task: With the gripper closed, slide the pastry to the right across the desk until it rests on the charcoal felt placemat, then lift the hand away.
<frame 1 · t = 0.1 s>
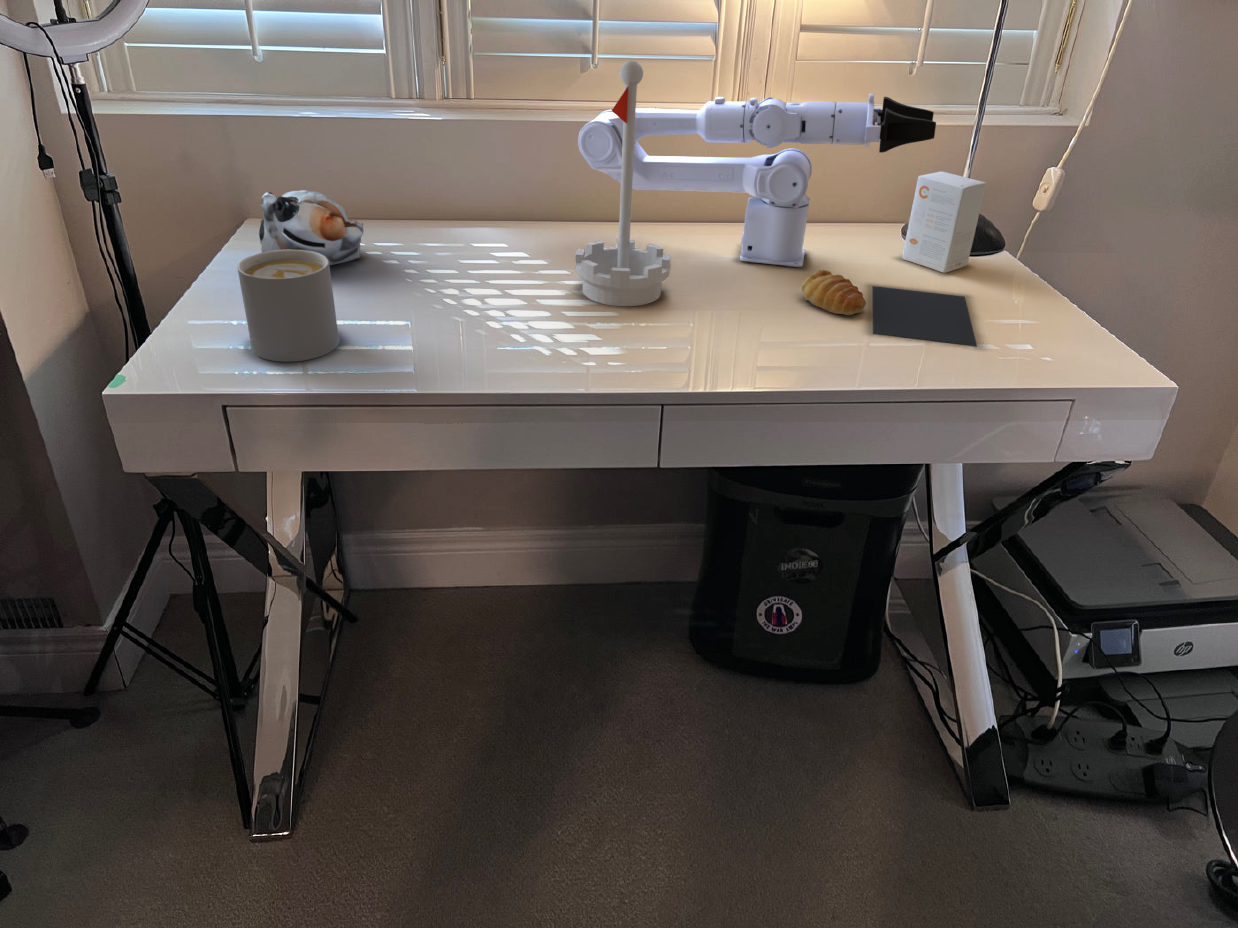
hand: (933, 124, 131), 22 cm above the table, tool horizontal, fingers open, 7 cm apart
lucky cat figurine: (319, 266, 135), on the table
small box: (933, 264, 147), on the table
placemat: (921, 314, 128), on the table
pastry: (832, 305, 130), on the table
coffee mug: (297, 339, 113), on the table
flag stand: (621, 292, 131), on the table
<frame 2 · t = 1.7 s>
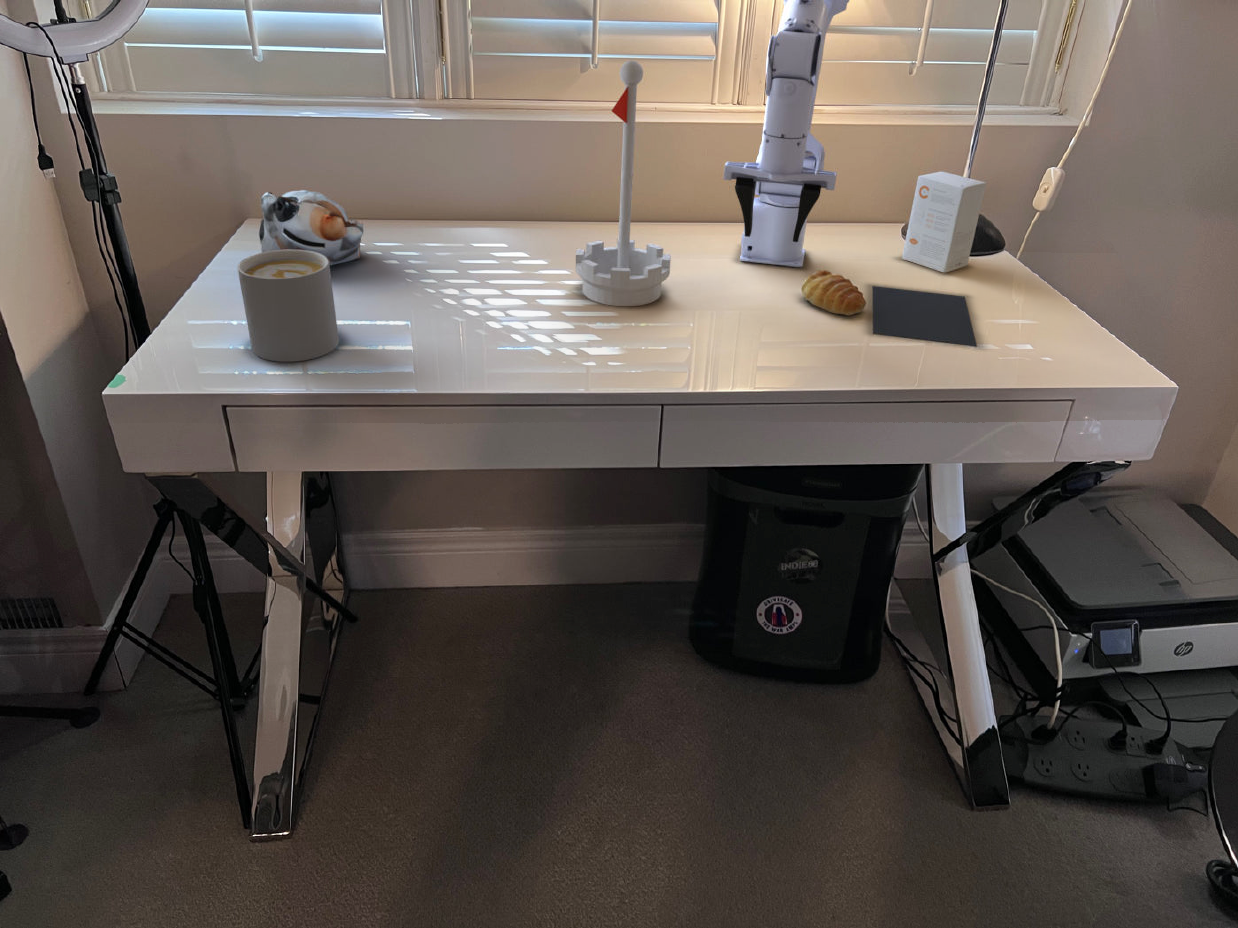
hand: (771, 237, 127), 8 cm above the table, tool pointing down, fingers open, 6 cm apart
nothing on the table moved.
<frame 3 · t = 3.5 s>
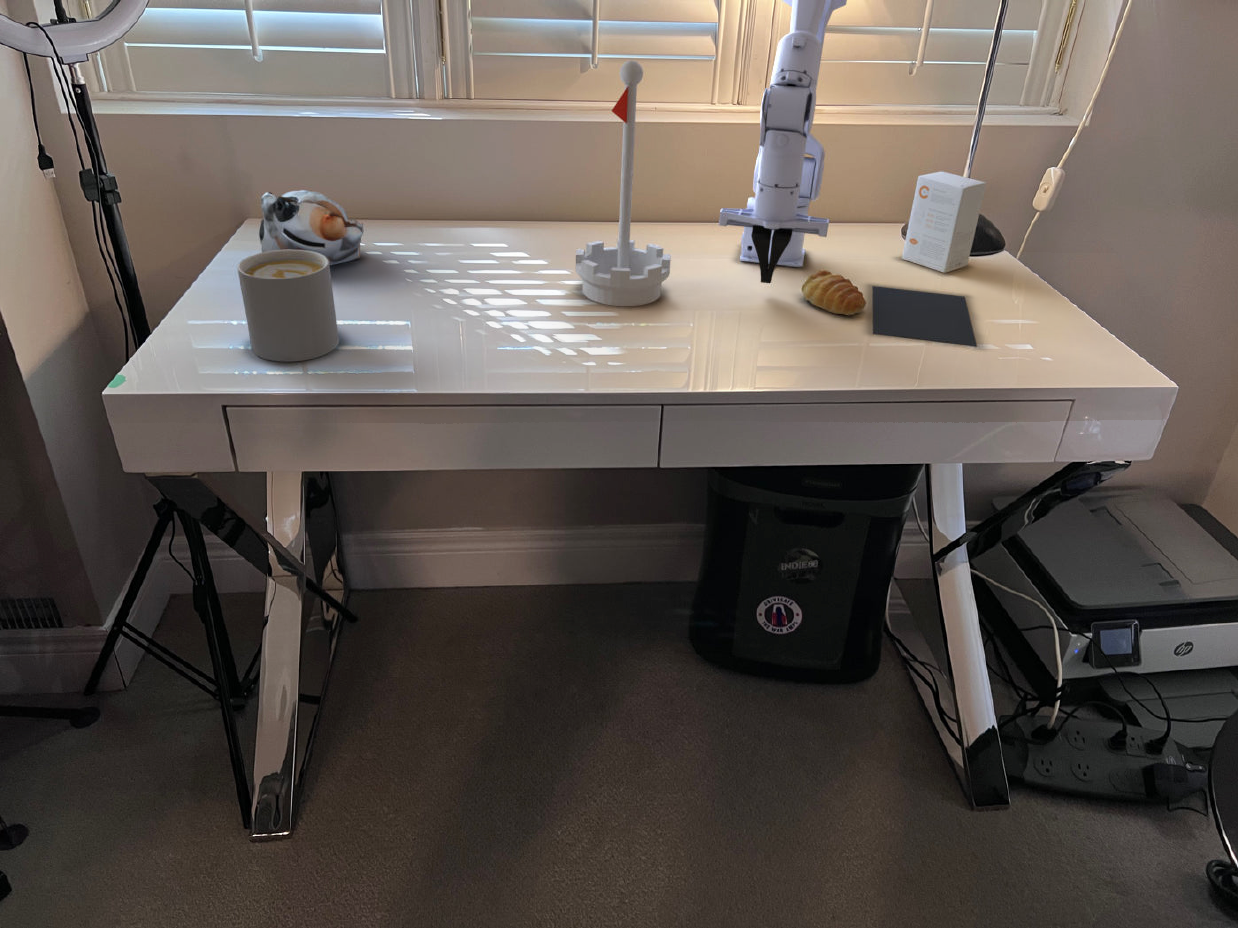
hand: (766, 280, 131), 2 cm above the table, tool pointing down, fingers closed
nothing on the table moved.
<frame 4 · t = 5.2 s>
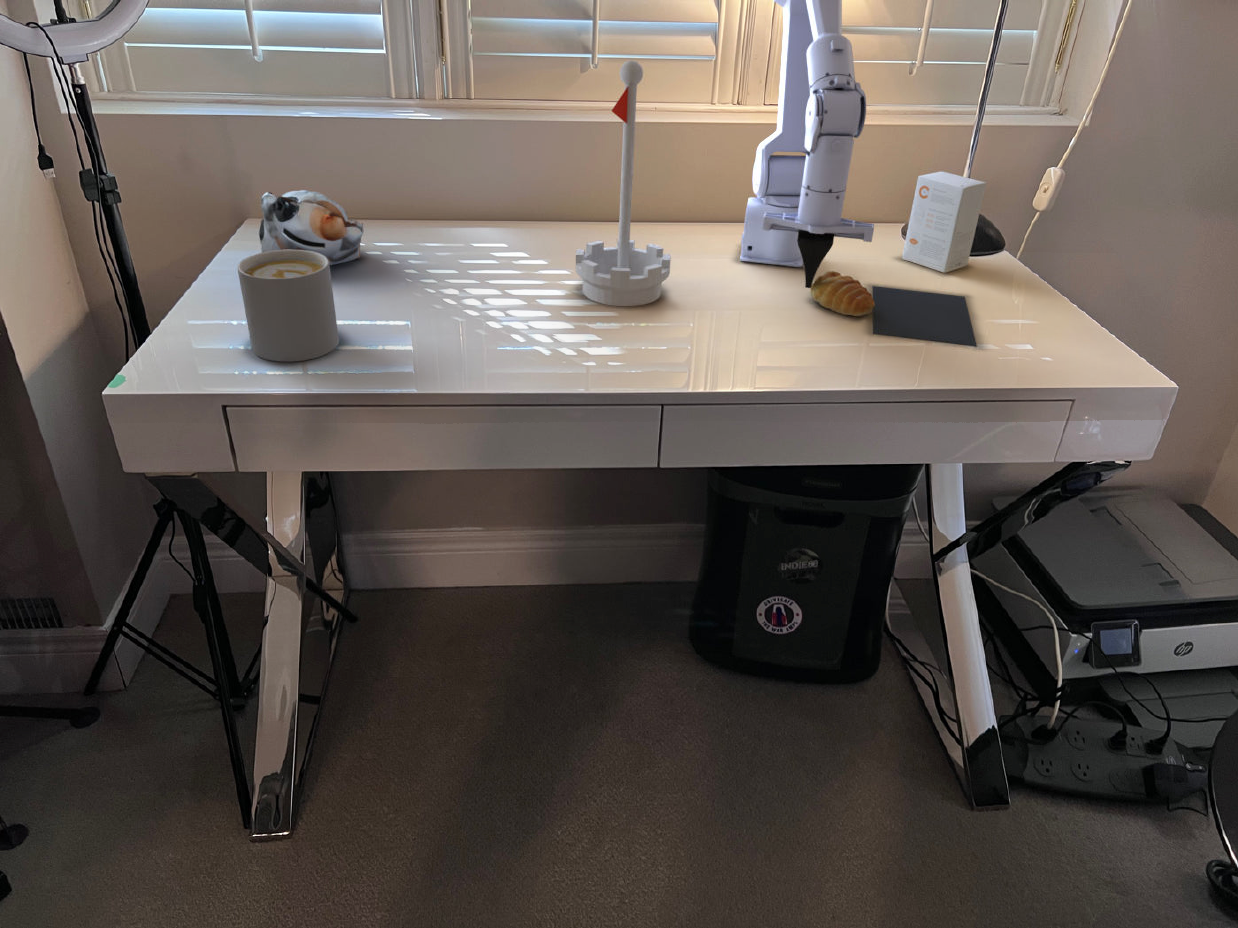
hand: (808, 285, 130), 2 cm above the table, tool pointing down, fingers closed, pressing on pastry
pastry: (841, 306, 130), on the table, touching gripper, placemat
everything else where it was.
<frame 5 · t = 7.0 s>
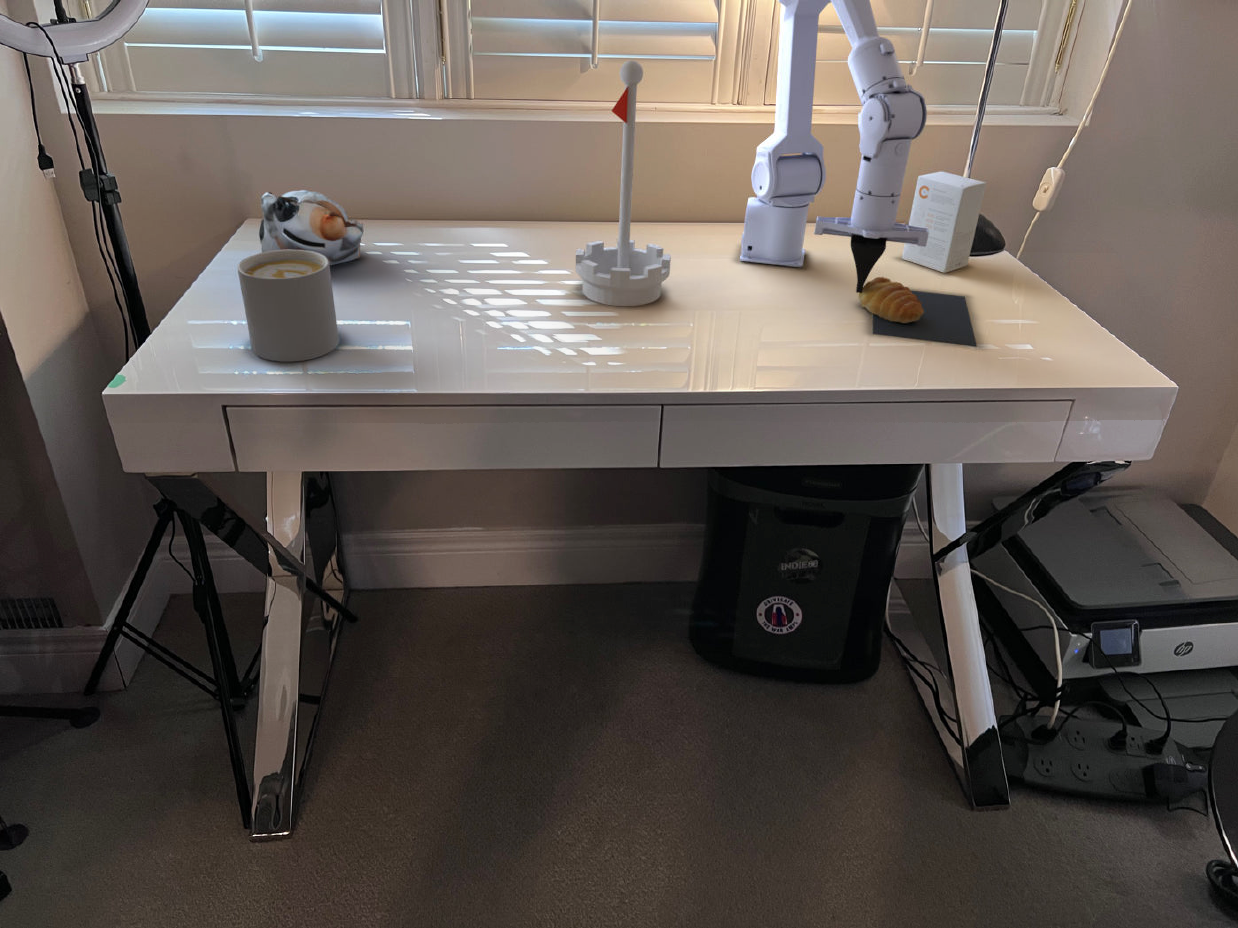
hand: (859, 290, 128), 2 cm above the table, tool pointing down, fingers closed, pressing on pastry
pastry: (889, 312, 128), on the table, touching gripper, placemat
everything else where it was.
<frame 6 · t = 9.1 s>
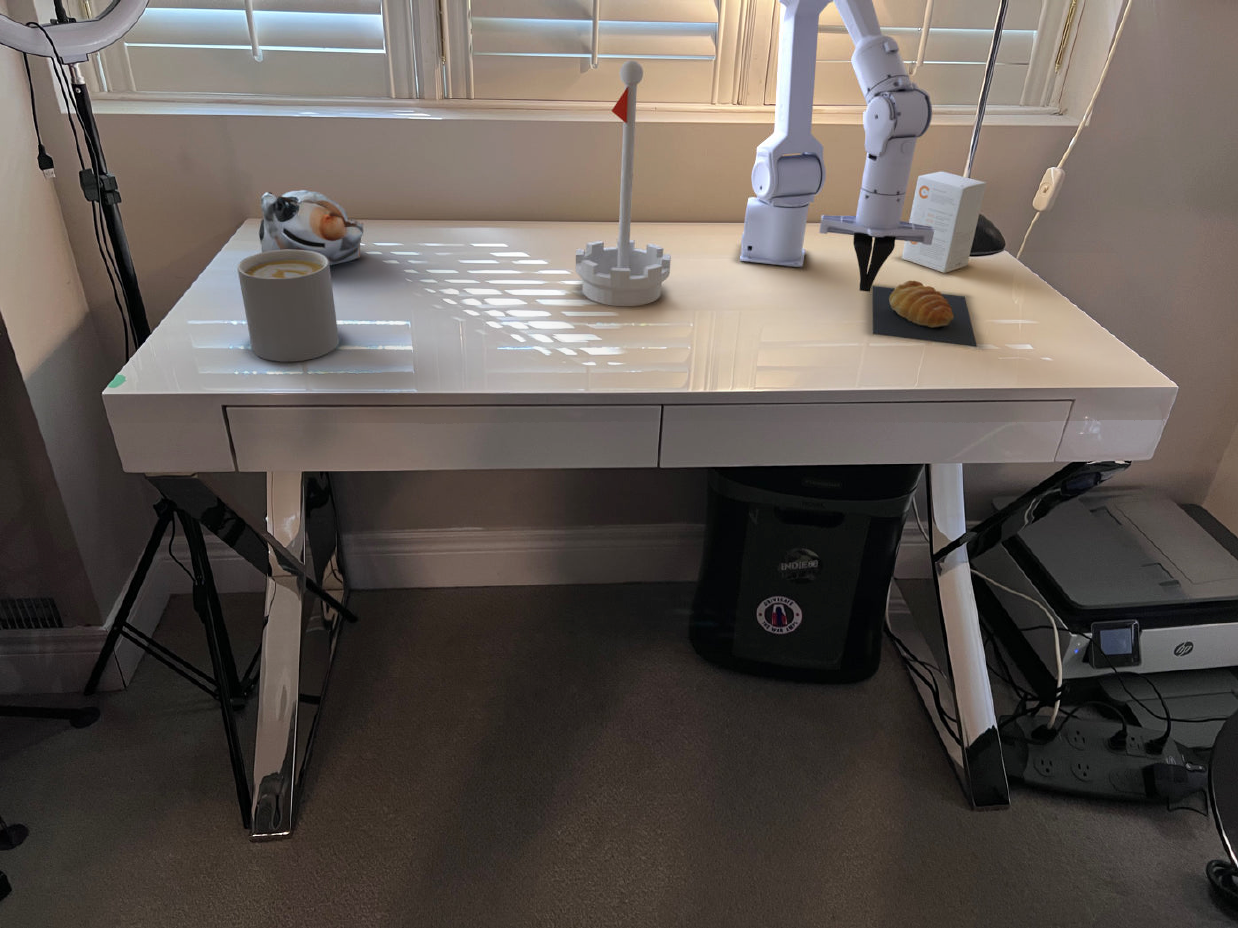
hand: (864, 288, 128), 3 cm above the table, tool pointing down, fingers closed
pastry: (919, 316, 128), on the table, touching placemat
everything else where it was.
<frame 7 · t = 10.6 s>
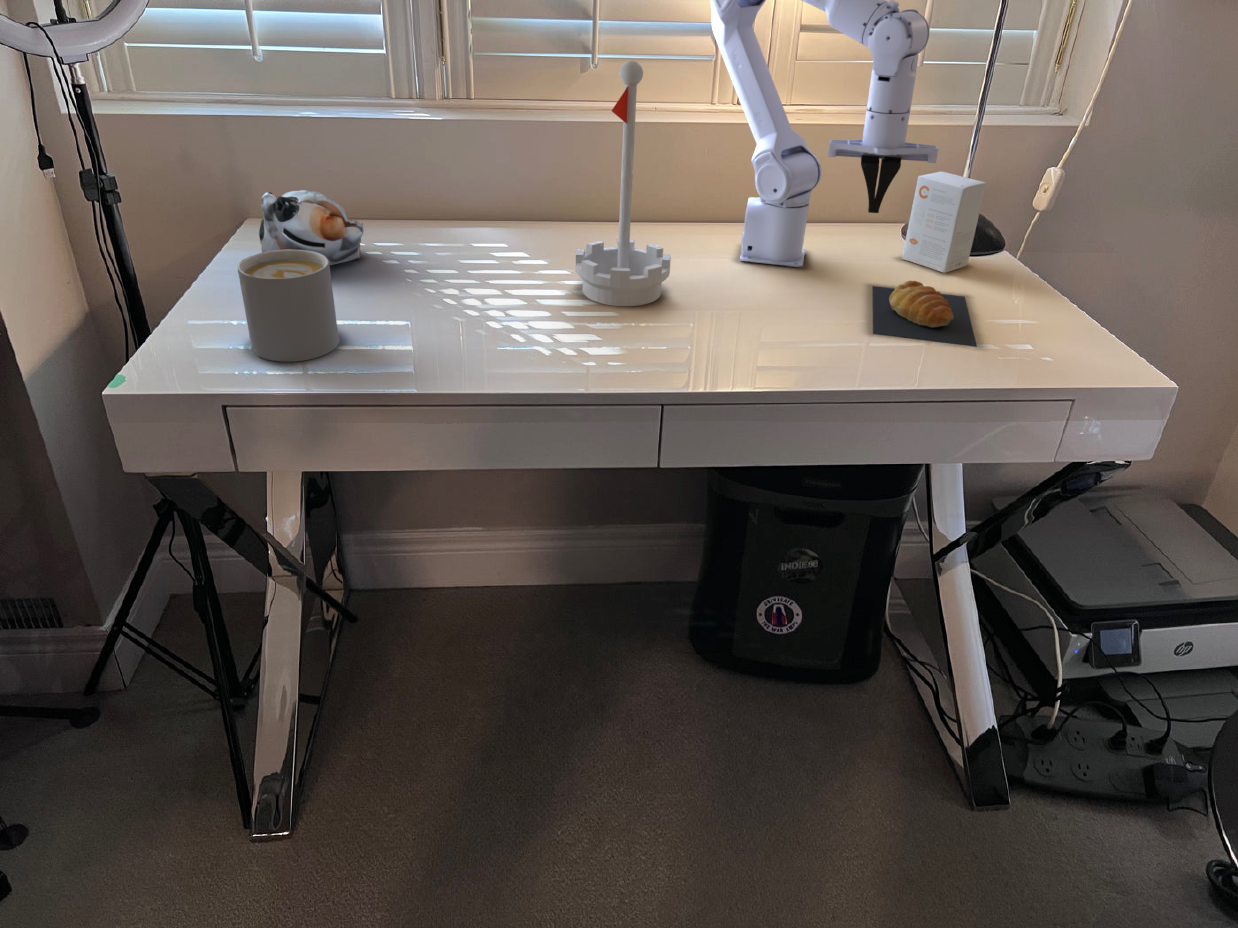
hand: (873, 211, 133), 10 cm above the table, tool pointing down, fingers closed
nothing on the table moved.
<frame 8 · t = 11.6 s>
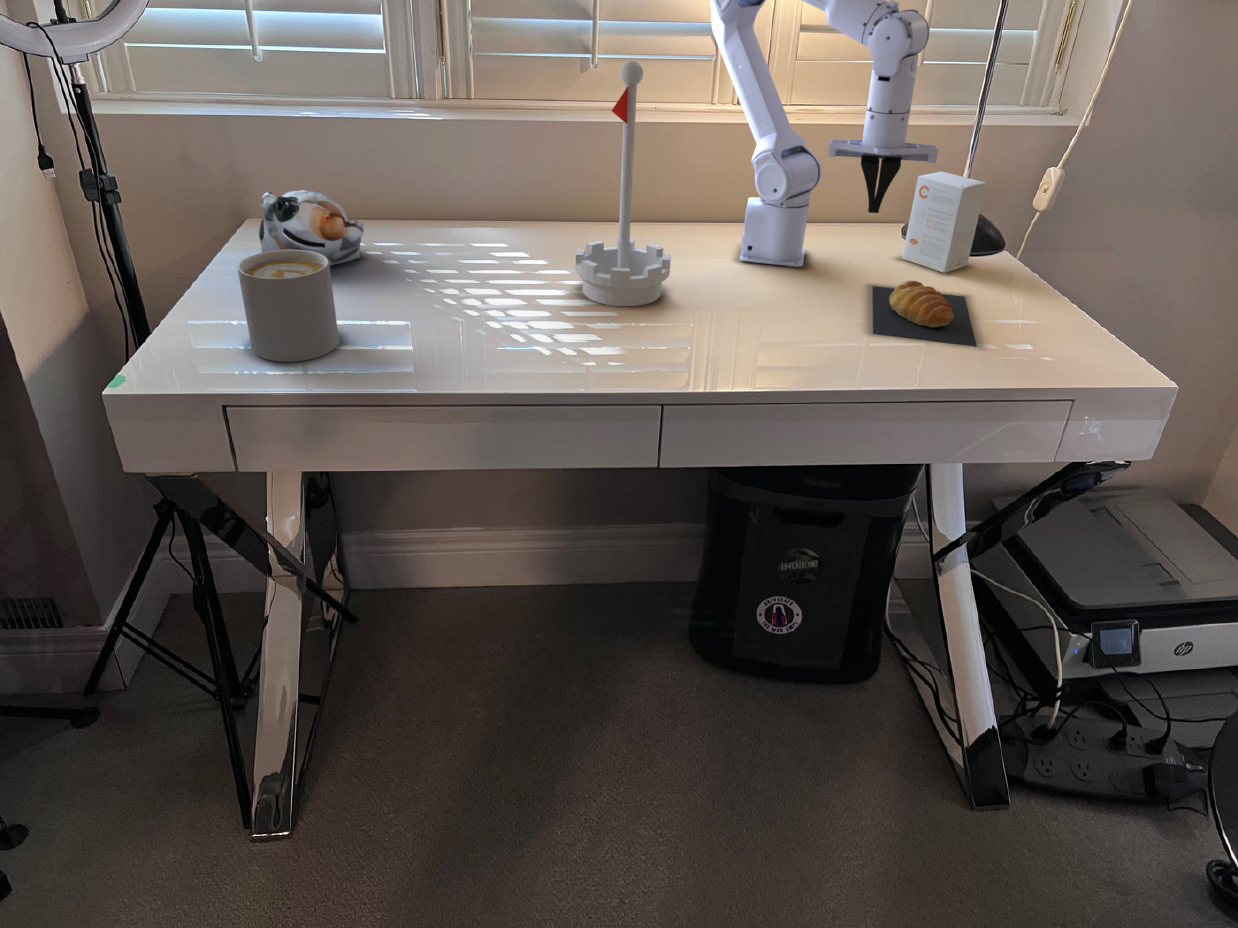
hand: (873, 211, 133), 10 cm above the table, tool pointing down, fingers closed
nothing on the table moved.
at the end: pastry inside the target area (1.1 cm from its centre), on the table; pastry moved 11.8 cm from its start; pastry tilted 0° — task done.
